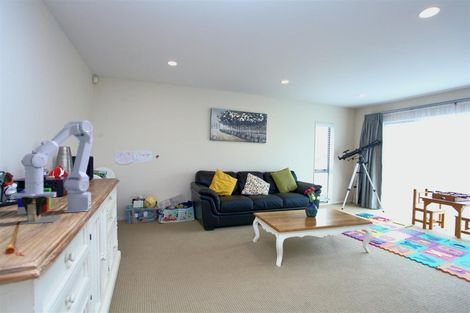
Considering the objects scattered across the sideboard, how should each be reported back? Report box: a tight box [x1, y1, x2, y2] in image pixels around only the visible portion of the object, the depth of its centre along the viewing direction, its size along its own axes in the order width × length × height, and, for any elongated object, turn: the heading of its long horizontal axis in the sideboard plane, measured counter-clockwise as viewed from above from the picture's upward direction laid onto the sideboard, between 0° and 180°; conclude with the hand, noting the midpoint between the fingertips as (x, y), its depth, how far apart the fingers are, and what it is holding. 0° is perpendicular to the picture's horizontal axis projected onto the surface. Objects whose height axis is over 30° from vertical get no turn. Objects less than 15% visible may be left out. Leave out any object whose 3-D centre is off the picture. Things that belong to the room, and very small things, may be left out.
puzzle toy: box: [17, 187, 52, 215], centre depth 110 cm, size 10×10×10 cm
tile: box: [26, 202, 42, 222], centre depth 95 cm, size 2×5×7 cm, turn 20°
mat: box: [19, 215, 62, 226], centre depth 95 cm, size 11×8×1 cm
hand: (34, 215), depth 95 cm, fingers closed on tile, 2 cm apart
